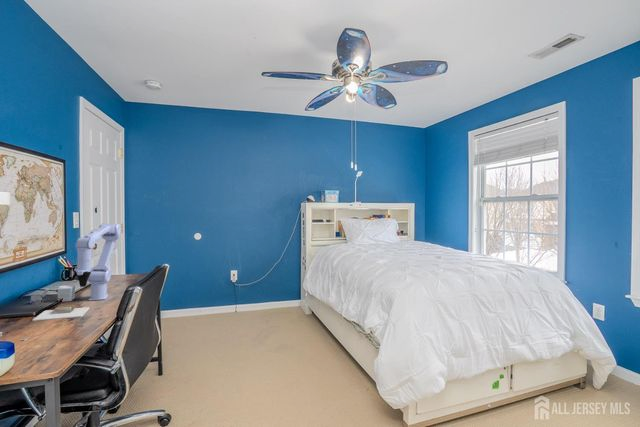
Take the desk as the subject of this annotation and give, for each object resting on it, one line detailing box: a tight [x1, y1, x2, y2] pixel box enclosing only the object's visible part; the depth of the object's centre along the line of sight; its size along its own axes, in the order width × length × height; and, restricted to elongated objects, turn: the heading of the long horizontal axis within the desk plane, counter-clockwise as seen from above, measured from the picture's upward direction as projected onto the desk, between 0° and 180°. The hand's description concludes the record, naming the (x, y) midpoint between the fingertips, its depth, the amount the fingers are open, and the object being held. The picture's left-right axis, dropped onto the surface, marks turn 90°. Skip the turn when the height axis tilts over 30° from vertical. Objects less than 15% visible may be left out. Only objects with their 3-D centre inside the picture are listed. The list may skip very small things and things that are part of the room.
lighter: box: [30, 287, 50, 302], centre depth 161 cm, size 7×2×8 cm, turn 117°
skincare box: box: [57, 285, 76, 302], centre depth 169 cm, size 6×6×7 cm
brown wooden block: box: [54, 302, 77, 314], centre depth 151 cm, size 2×6×8 cm
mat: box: [31, 306, 90, 322], centre depth 147 cm, size 14×18×1 cm
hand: (83, 286), depth 160 cm, fingers closed
